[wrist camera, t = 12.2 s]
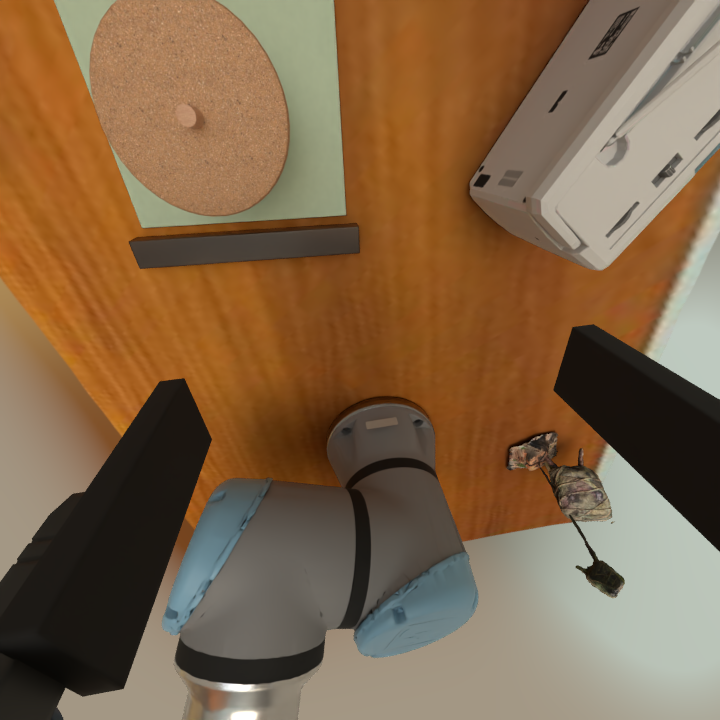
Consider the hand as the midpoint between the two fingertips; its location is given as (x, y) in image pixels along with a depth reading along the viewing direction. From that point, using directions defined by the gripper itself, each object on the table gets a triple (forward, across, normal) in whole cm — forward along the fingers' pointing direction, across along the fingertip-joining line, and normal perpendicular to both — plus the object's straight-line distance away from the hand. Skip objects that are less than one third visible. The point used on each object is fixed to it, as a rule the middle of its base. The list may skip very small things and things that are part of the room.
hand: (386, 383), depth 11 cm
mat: (+24, +8, -9) cm, 27 cm away
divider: (+24, +8, 0) cm, 25 cm away
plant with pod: (+25, -28, +36) cm, 52 cm away
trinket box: (+23, +8, -10) cm, 26 cm away
